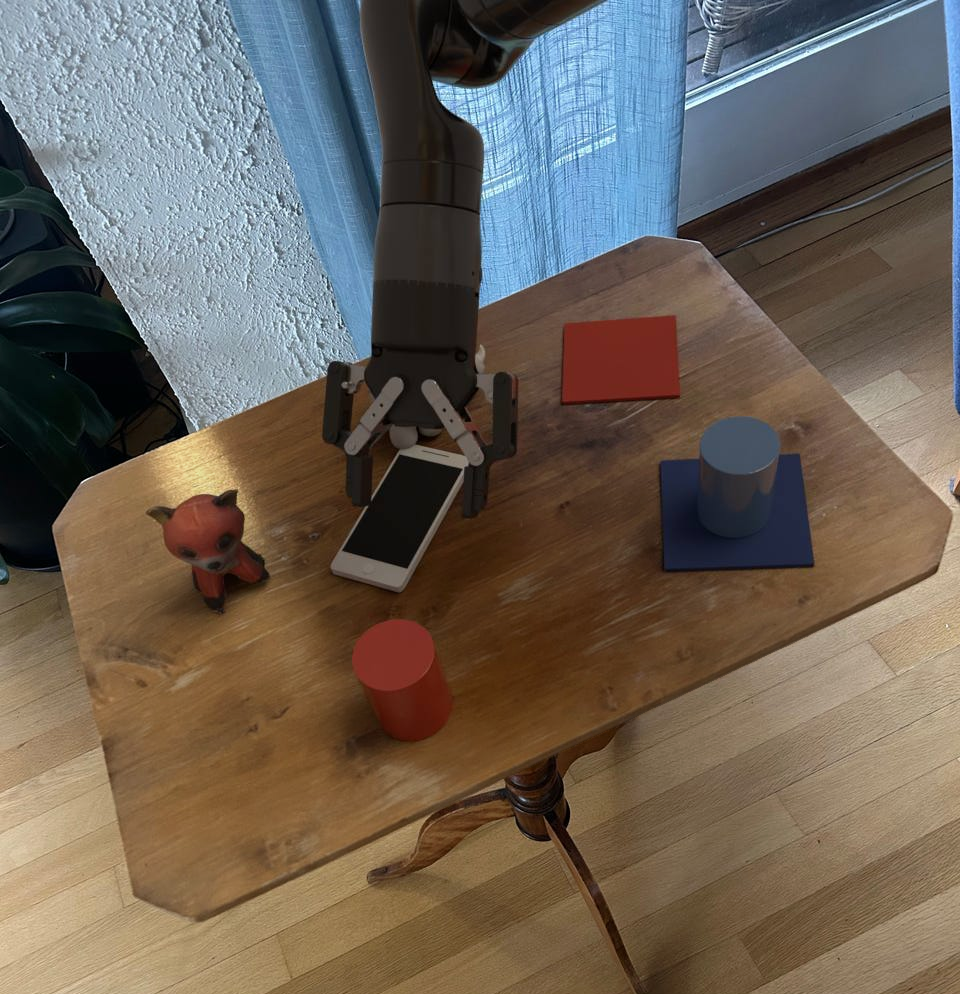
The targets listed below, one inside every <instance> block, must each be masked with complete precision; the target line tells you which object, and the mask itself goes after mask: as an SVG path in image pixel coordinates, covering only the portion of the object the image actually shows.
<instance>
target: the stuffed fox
mask: <svg viewBox="0 0 960 994" xmlns="http://www.w3.org/2000/svg"><path fill="white" fill-rule="evenodd" d="M238 493H239V489H238V488H235V489H227V490H225V491H224V492H222V493H220V494H219V495H215V494H211V493H200V494H196V495H195V494H194V495H192V496H191V497H189V498H187V499H186V500H184V501H182V502H181V503H180V504H178V505H177V506H176V507H173V508H171V507H168V506H160V505H158V506H156V505H155V506H152V507H150V508H149V509H147V510H146V511H145V514H146V515H147V516H148V517H151V518H152V519H153V520H155V521H156V522H157V523H158V524H160V525H161V527H162V528H161V529H162V535H163V541H164V545H165V547H166V549H167V551H168V552H169V553H170V554H171V555H172V556H173V557H175V558H176V559H178V560H179V561H182V562H185V563H187V564H189V565H191V574H192V581H193V582H192V583H193V587H194V589H195V590H196V591H197V592H198V593H200V594H201V597H202V600H203V603H204V604H205V606H206V607H207V608H208V609H209V610H211V611H212V612H216V613H219V614H221V615H223V614H225V613H226V609H224V607H225V602H226V599H227V590H226V589H225V581H224V579H225V578H224V577H225V575H226V574H232V575H235V576H237V578H239V580H241V581H247V582H249V583H250V584H251V585H253V586H258V585H260V584H261V583H263V582H266V581H267V580H268V581H270V580H271V578H270V577H271V575H270V572H269V571H268V570H267V569H266V558H264V557H263V555H262V554H261V553H257V552H256V551H254V550H253V549H252V548H251V547H250V546H248V545H247V544H245V543H244V542H243V541H242V539H243V536H244V533H245V530H244V529H245V519H246V515H245V513H244V511H243V510H242V509H241V508H240V507H239V506H238V505H237V504H238Z"/></svg>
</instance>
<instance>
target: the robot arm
mask: <svg viewBox="0 0 960 994" xmlns="http://www.w3.org/2000/svg"><path fill="white" fill-rule="evenodd" d="M609 1H610V0H360V4H359V28H360V36H361V43H362V49H363V54H364V59H365V64H366V67H367V72H368V76H369V81H370V85H371V91H372V95H373V102H374V108H375V115H376V118H377V119H376V120H377V125H378V130H379V131H378V132H379V136H380V143H381V165H380V166H381V167H380V187H379V188H380V190H379V212H378V221H377V226H376V227H377V228H376V233H375V241H374V250H373V251H374V252H373V274H372V275H373V276H372V277H373V278H372V300H371V301H372V303H371V328H370V349H371V353H370V357H369V361H368V362H367V364H366V365H365V366H362V365H356V364H354V363H352V362H349V361H339V360H333V361H330V362H329V363H328V366H327V372H326V382H325V383H326V384H325V395H324V407H323V419H322V420H323V421H322V431H321V439H322V440H323V442H324V443H325V444H327V445H332V446H334V447H337V448H339V450H341V451H343V452H344V454H345V457H346V464H345V466H346V467H345V494H346V497H347V499H351V505H352V506H353V507H356V508H365V507H366V506H369V505H370V503H371V497H372V495H373V469H374V455H370V452H371V451H372V449H373V448H374V447H375V446H376V444H377V443H378V442H379V440H380V439H381V438H382V437H383V436H384V435H385V434H386V433H387V432H389V431H390V430H389V429H390V428H391V427H392V425H393V424H394V425H395V426H396V427H415V426H416V427H418V426H419V427H422V428H425V429H434V430H437V429H443V430H445V429H446V431H447V432H448V434H449V436H450V437H451V438H452V440H453V441H454V442H456V444H457V445H458V447H459V449H460V450H461V452H462V453H463V456H466V458H467V460H468V461H469V464H468V466H466V467H464V481H463V483H462V500H461V517H462V518H463V519H470V520H471V519H476V518H478V516H479V513H480V512H481V511H483V510H485V509H486V507H487V504H488V498H489V496H488V495H489V481H490V470H491V467H492V465H493V464H494V463H496V462H499V461H502V460H505V459H511V458H514V457H515V456H516V455H517V453H518V434H519V433H518V424H519V423H518V421H519V378H518V376H517V375H516V374H515V373H513V372H510V371H499V372H497V373H483V374H479V372H478V370H477V367H476V363H475V356H476V354H477V343H478V342H477V340H478V339H477V338H478V323H479V307H480V291H481V284H482V281H483V267H482V259H483V244H482V242H483V241H482V229H481V226H482V225H481V224H482V223H481V221H482V220H481V219H482V218H481V215H482V214H481V213H482V197H483V196H482V195H483V183H484V182H483V181H484V167H485V143H484V138H483V135H482V134H481V132H480V130H479V129H478V128H477V127H476V126H475V125H473V123H470V121H468V120H465V118H463V117H461V116H459V115H457V114H455V113H454V112H452V111H451V110H450V109H449V108H447V107H446V106H445V105H444V104H443V103H442V101H441V100H440V99H439V96H438V94H437V91H436V88H435V85H434V82H435V83H440V84H444V85H448V86H452V87H455V88H459V89H467V90H477V89H483V88H487V87H491V86H495V85H496V84H498V83H499V82H501V81H502V80H503V79H505V77H506V76H508V74H509V73H510V72H511V70H512V69H513V68H514V67H515V66H516V64H517V63H518V62H519V60H520V59H521V58H522V57H523V55H525V53H526V52H527V51H528V50H529V49H530V47H531V46H532V45H533V43H534V42H535V40H537V39H538V38H540V37H542V36H544V35H546V34H548V33H550V32H552V31H553V30H555V29H558V28H560V27H561V26H563V25H566V24H567V23H569V22H571V21H573V20H574V19H577V18H578V17H580V16H582V15H584V14H586V13H588V12H590V11H591V10H593V9H595V8H597V7H599V6H601V5H603V4H605V3H607V2H609ZM364 382H365V384H366V387H368V388H369V390H370V391H371V393H372V395H373V396H374V398H375V401H374V402H373V404H372V403H371V405H370V406H369V407H368V408H367V410H366V411H365V413H364V414H363V415H362V416H361V418H360V419H359V422H358V425H357V426H356V428H355V429H354V430H353V431H351V430H352V429H351V428H352V419H353V407H354V398H355V397H354V395H355V394H358V393H359V392H360V391H361V387H362V384H363V383H364ZM479 389H480V390H482V391H483V393H484V399H485V401H486V402H487V403H488V404H491V405H492V443H491V444H488V443H487V441H486V440H485V438H484V437H483V435H482V434H481V431H480V427H479V425H478V424H477V422H476V421H475V419H474V417H473V416H472V414H471V413H470V411H469V409H468V407H467V406H468V405H469V404H470V402H471V401H472V399H473V398H474V397H475V395H476V394H477V393H478V392H479Z"/></svg>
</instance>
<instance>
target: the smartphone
mask: <svg viewBox="0 0 960 994" xmlns="http://www.w3.org/2000/svg"><path fill="white" fill-rule="evenodd" d="M468 464H469V461H468V460H467V458H466V456H465V455H464V454H459V453H453V452H450V451H445V450H442V449H436V448H432V447H427V446H423V445H419V444H415V445H413V446H412V447H410V448H406V449H399V450H398V452H397V453H396V455H395V457H394V458H393V461H391V463H390V465H389V467H388V469H387V470H386V472H385V473H384V475H383V476H382V478H381V480H380V481H379V483H378V485H377V486H376V488H375V490H374V491H373V492H372V497H371V503H370V505H369V506H365V507H363V510H362V512H361V513H360V515H359V516H358V518H357V520H356V522H355V523H354V525H353V526H352V528H351V530H350V531H349V533H348V534H347V536H346V538H345V540H344V542H343V543H342V544H341V547H340V548H339V549H338V551H337V553H336V555H335V557H334V558H333V560H332V562H331V564H330V570H331V572H332V574H333V575H335V576H338V577H339V576H340V577H342V578H346V579H350V580H353V581H357V582H360V583H364V584H368V585H371V586H374V587H378V588H382V589H384V590H389V591H392V592H395V593H402V592H403V590H405V588H406V587H407V585H408V583H409V581H410V580H411V578H412V576H413V575H414V573H415V571H416V569H417V567H418V564H420V561H421V560H422V558H423V556H424V554H425V553H426V551H427V549H428V547H429V545H430V544H431V541H432V540H433V538H434V536H435V534H436V533H437V530H438V529H439V527H440V525H441V523H442V522H443V520H444V518H445V516H446V514H447V512H448V510H449V509H450V507H451V505H452V503H453V502H454V500H455V498H456V496H457V495H458V493H459V491H460V489H461V487H462V486H463V481H464V467H466V466H468Z"/></svg>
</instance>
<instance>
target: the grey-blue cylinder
mask: <svg viewBox="0 0 960 994" xmlns="http://www.w3.org/2000/svg"><path fill="white" fill-rule="evenodd" d="M698 453H699V454H698V459H699V469H698V491H697V515H698V518H699V520H700V522H701V523H702V524H703V526H704V527H705V528H707V529H708V530H709V531H711V532H712V533H714V534H717V535H719V536H723V537H728V538H741V537H746V536H749V535H752V534H754V533H756V532H758V531H759V530H761V529H762V528H763V527H764V526H765V525H766V524H767V522H768V521H769V519H770V516H771V511H772V504H773V497H774V490H775V483H776V476H777V468H778V461H779V455H781V440H780V437H779V435H778V432H777V431H776V430H775V429H774V428H773V427H772V426H771V425H770V424H768V423H767V422H766V421H764V420H761V419H759V418H755V417H752V416H744V415H743V416H742V415H738V416H729V417H725V418H721V419H720V420H717V421H716V422H714V423H712V424H711V425H710V426H708V428H706V429H705V430H704V432H703V433H702V435H701V437H700V441H699V449H698Z"/></svg>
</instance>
